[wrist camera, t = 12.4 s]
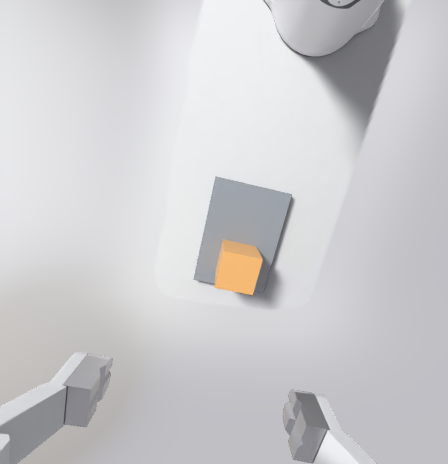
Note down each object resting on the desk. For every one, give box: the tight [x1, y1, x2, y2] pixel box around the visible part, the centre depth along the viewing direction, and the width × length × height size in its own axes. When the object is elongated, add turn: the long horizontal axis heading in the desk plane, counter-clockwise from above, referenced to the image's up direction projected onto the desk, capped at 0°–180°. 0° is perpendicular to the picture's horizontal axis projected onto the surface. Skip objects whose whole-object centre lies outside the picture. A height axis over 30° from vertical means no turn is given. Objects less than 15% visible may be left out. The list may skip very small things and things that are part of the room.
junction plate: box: [194, 177, 292, 294], centre depth 41 cm, size 20×14×6 cm
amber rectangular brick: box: [215, 239, 263, 295], centre depth 40 cm, size 6×6×7 cm
